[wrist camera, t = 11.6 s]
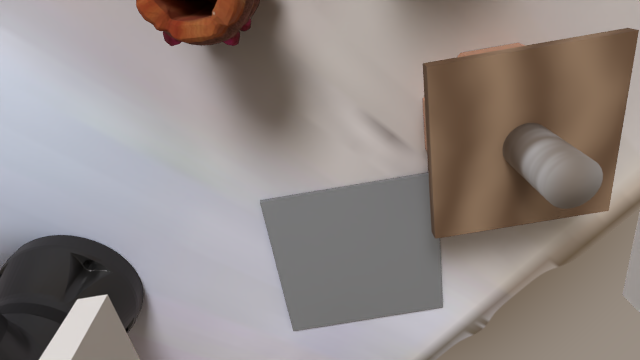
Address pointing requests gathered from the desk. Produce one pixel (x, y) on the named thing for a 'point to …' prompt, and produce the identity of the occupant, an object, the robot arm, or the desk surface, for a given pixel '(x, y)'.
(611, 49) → the lid
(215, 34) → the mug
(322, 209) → the mat
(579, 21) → the desk surface
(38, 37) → the desk surface
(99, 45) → the desk surface
